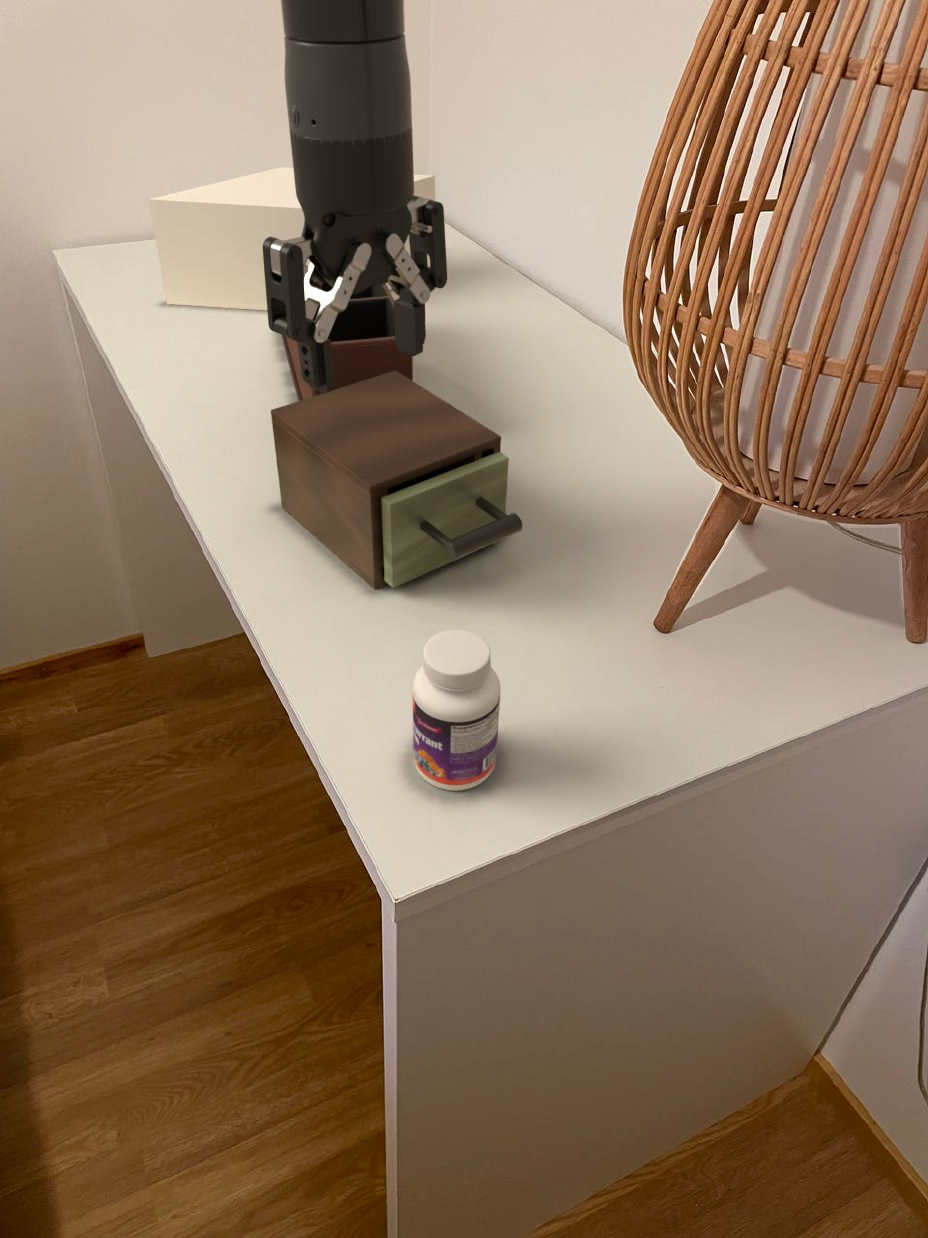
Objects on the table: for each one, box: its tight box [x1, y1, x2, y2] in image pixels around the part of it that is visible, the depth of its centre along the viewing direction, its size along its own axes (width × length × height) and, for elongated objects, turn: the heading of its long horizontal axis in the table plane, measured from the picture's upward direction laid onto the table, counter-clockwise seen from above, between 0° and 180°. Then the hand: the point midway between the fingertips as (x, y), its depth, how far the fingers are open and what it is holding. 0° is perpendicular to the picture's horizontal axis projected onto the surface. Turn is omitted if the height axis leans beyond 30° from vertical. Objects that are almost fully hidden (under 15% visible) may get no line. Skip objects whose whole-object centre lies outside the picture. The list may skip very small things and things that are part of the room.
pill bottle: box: [411, 629, 501, 791], centre depth 61 cm, size 5×5×10 cm
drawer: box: [378, 451, 524, 589], centre depth 79 cm, size 18×11×8 cm, turn 38°
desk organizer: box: [281, 274, 414, 402], centre depth 101 cm, size 10×29×11 cm, turn 14°
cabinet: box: [270, 371, 502, 590], centre depth 82 cm, size 15×13×10 cm
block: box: [148, 166, 436, 311], centre depth 121 cm, size 18×35×12 cm, turn 110°
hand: (367, 369), depth 70 cm, fingers open, 8 cm apart
